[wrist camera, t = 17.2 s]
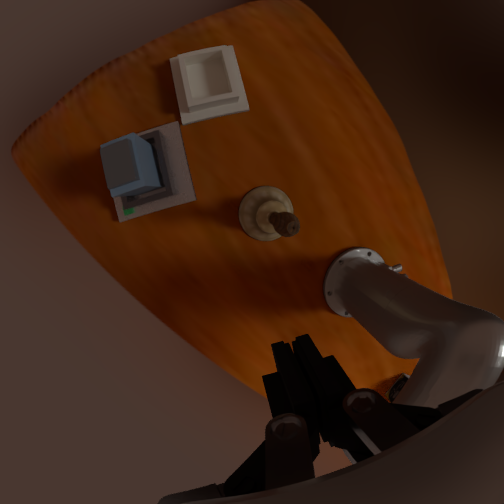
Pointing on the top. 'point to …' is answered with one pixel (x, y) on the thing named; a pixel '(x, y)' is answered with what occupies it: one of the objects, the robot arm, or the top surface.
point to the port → (172, 171)
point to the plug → (130, 166)
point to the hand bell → (267, 214)
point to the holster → (208, 84)
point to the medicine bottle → (397, 387)
